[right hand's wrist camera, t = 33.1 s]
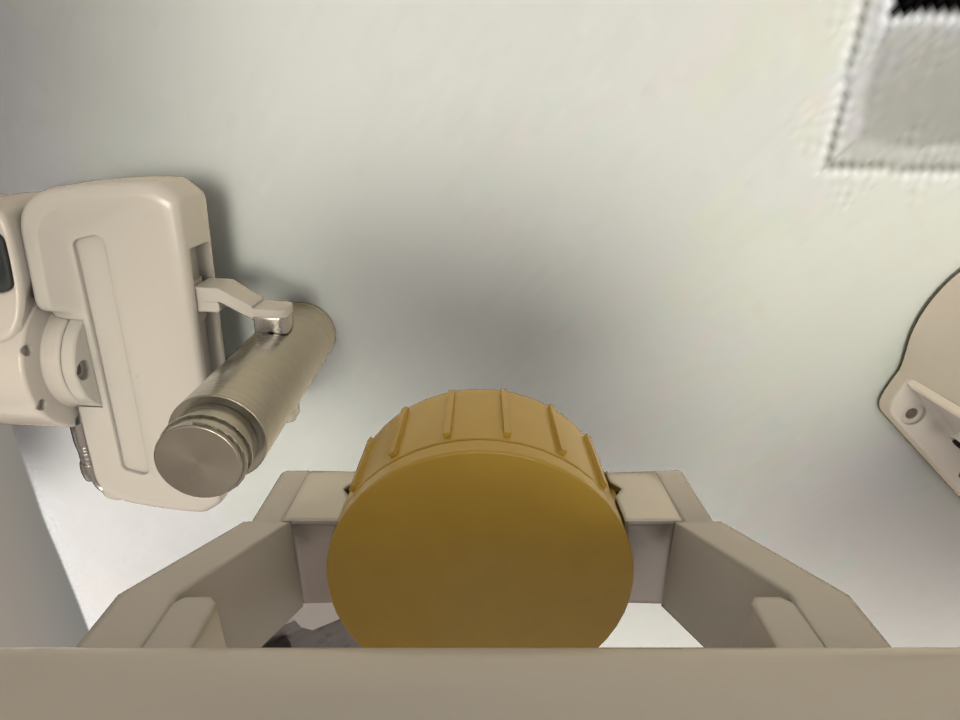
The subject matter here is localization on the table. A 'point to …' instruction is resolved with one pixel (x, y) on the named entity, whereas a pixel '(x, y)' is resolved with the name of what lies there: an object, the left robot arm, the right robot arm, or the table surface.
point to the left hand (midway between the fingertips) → (294, 362)
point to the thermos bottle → (242, 407)
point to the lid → (480, 531)
